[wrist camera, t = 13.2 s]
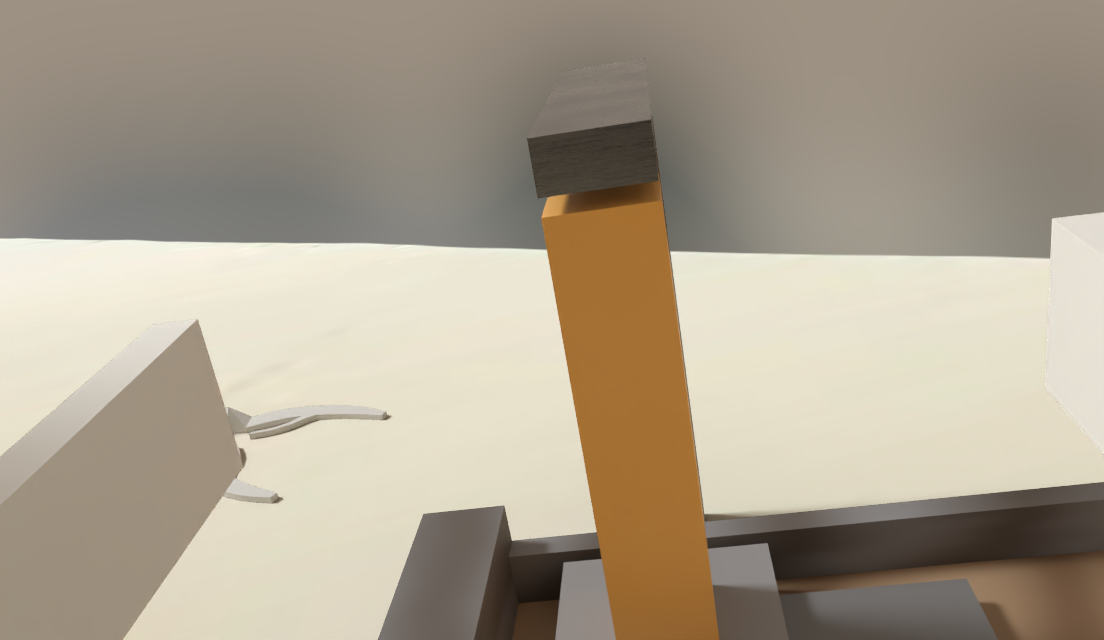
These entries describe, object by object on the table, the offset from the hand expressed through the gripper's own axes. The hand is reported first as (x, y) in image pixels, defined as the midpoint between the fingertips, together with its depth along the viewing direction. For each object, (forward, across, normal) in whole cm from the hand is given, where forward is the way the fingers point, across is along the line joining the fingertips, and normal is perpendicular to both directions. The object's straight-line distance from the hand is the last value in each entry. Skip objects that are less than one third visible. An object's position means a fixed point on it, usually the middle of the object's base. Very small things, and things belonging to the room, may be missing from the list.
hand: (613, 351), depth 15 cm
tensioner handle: (+11, +3, -16) cm, 19 cm away
